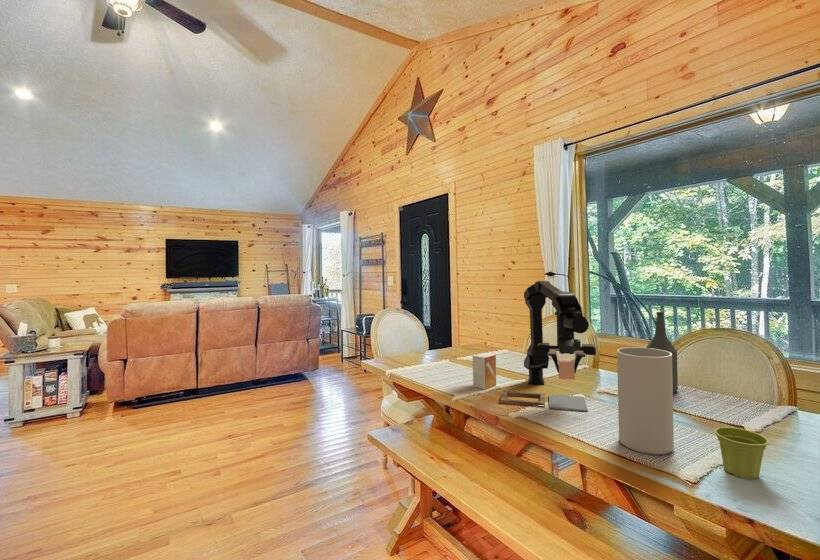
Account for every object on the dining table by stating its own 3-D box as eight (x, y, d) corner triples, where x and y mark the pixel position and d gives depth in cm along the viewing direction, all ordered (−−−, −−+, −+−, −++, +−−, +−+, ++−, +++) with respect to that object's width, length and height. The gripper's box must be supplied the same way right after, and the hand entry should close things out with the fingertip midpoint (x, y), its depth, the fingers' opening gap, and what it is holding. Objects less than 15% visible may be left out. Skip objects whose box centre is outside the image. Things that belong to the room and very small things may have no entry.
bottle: (677, 387, 150) (676, 310, 149) (678, 395, 142) (676, 313, 141) (646, 384, 156) (644, 310, 155) (645, 391, 147) (643, 312, 147)
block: (558, 374, 140) (558, 358, 139) (573, 375, 138) (573, 359, 138) (559, 378, 135) (558, 361, 135) (574, 379, 133) (574, 362, 133)
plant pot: (758, 466, 91) (758, 429, 90) (777, 487, 82) (777, 447, 82) (709, 460, 94) (709, 424, 94) (723, 479, 86) (722, 440, 86)
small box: (485, 389, 155) (484, 357, 155) (472, 386, 160) (471, 355, 159) (497, 385, 161) (496, 354, 160) (484, 382, 165) (483, 352, 165)
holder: (503, 393, 149) (503, 390, 149) (544, 396, 144) (544, 393, 144) (500, 403, 139) (500, 400, 139) (544, 406, 134) (544, 403, 134)
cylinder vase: (628, 431, 112) (627, 345, 112) (679, 444, 103) (678, 351, 102) (611, 445, 104) (609, 352, 103) (665, 461, 94) (663, 359, 94)
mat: (549, 395, 145) (549, 394, 145) (583, 398, 141) (583, 396, 141) (549, 408, 132) (549, 407, 132) (587, 411, 128) (587, 410, 128)
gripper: (537, 332, 132) (538, 377, 132) (597, 333, 125) (598, 380, 126) (537, 327, 142) (538, 369, 142) (593, 328, 136) (594, 372, 136)
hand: (566, 372), depth 136 cm, fingers closed on block, 5 cm apart
